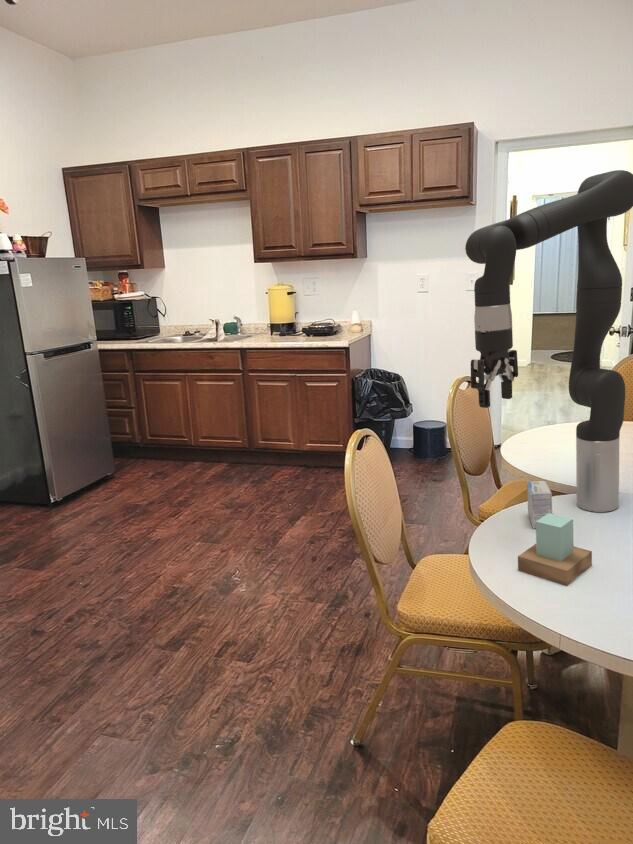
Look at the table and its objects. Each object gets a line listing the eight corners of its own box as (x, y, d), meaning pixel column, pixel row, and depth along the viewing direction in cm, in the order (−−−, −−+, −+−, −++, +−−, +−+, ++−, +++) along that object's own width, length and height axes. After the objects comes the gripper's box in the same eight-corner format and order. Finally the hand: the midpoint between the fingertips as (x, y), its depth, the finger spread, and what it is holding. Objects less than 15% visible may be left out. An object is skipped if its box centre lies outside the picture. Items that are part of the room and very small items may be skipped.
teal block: (549, 545, 123) (548, 513, 121) (573, 551, 119) (573, 518, 117) (536, 554, 119) (535, 521, 118) (561, 561, 116) (560, 527, 114)
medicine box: (553, 529, 136) (552, 492, 134) (532, 529, 137) (531, 493, 135) (547, 515, 144) (546, 480, 142) (527, 515, 145) (526, 481, 143)
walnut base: (543, 551, 127) (543, 538, 126) (591, 565, 119) (591, 551, 118) (518, 570, 120) (517, 556, 120) (567, 585, 113) (566, 571, 112)
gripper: (496, 322, 134) (499, 394, 138) (457, 331, 125) (461, 408, 129) (527, 322, 128) (529, 397, 132) (489, 331, 119) (492, 412, 123)
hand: (496, 402), depth 130 cm, fingers open, 8 cm apart
